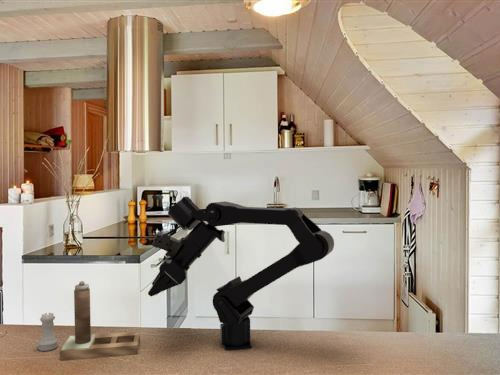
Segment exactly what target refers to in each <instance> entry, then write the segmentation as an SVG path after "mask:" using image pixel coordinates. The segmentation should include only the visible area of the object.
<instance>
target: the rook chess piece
mask: <svg viewBox="0 0 500 375" xmlns="http://www.w3.org/2000/svg"><path fill="white" fill-rule="evenodd" d="M55 318H56V316H55V315H54V313H53V312H48V313H47V312H45V313H43V314H41V317H40V319H39V320H40V322H41V325H40V327H41V336H40V338H39V340H38V342H37V349H38V350H39V351H40V352H48V351H49V352H50V351H53V350H55V349H57V348H58V346H59V343H58V338H57V337H56V335H55V331H54V325H55V323H54V320H55Z"/></svg>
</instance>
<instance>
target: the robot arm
mask: <svg viewBox="0 0 500 375" xmlns="http://www.w3.org/2000/svg"><path fill="white" fill-rule="evenodd" d="M167 215H168V216H169V218H170V219H172V221H174V223H175V224H177V226H178V227H179V228H180V229H182V231H187V230H188V231H189V233H188V234H187V235H186V236H183V237H182V238H181V239H177V238H175V237H172V236H171V234H167V233H165V232H160V231H157V233H156V235H155V236H154V239H153V242H152V244H151V246H152V247H153V248H156V249H161V250H164V251H165V254H164V256H163V257H162V258H163V260H162V262H161V263H160V265H159V268H158V270H159V272H158V273H157V274H156V276H155V278H154V280H153V281H152V283H151V287H150V289H149V291H148V292H147V295H148V296H150V297H153V296H155V295H158V294H160V293H162V292H164V291H167V290H168V289H169V290H170V289H171V288H174V287H176V286H179V285H181V284H182V283H183V282H184V281H186V279H187V272H188V270H190V268H191V266H192V265H193V263H195V261H197V259H199V258H201V256H202V254H203V253H204V252H205V251H206V249H207V248H208V247H210V245H212V244H213V242H214V241H215V240H216V239H217V240H219V241H220V242H222V243H225V240H226V238H225V234H226V232H225V230H223V229H218V227H222V226H228V225H234V224H235V225H236V224H255V225H256V224H259V225H261V224H262V225H278V226H279V225H280V226H281V225H282V226H286V227H287V228H288V229H289V230H290V232H291V234H292V236H293V237H294V239H296V241H297V242H298V244H297V245H296V246H295V247H294V248H293V249H292V250H291V251H290V252H289V253H288V254H286V255H284V256H282V257H281V258H280V259H278V260H277V261H274V262H273V263H272V264H270V265H268V266H267V267H265V268H264V269H262V270H260V271H259V272H257V273H255V274H253V275H252V276H250V277H249V278H247V279H244V280H242V278H241V276H237V277H235V278H233V279H232V280H230V281H227V283H225V284H224V285H221V286H220V287H218V288H216V291H217V292H216V293H215V294H214V295H213V296H212V306H213V308H214V310H215V312H216V314H217V316H218V320H219V323H220V324H219V325H220V326H219V328H220V329H219V330H220V332H219V333H220V336H219V337H220V344H221V345H223V347H224V350H237V349H250V348H253V344H252V342H251V318H250V316H251V315H252V314H253V311H254V308H255V306H254V305H253V304H252V303H251V302H250V300H249V299H251V297H252V296H253V295H254V294H255V293H257V292H258V291H260V290H262V289H263V288H265V287H267V286H269V285H270V284H271V283H274V282H276V281H277V280H278V279H280V278H282V277H284V276H285V275H287V274H289V273H290V272H293V271H294V270H295V269H297V268H300V267H302V266H306V265H310V264H312V263H315V262H318V261H320V260H323V259H324V258H326V256H328V255H329V254H331V253H332V252H333V250H334V249H335V248H334V247H335V241H334V240H335V239H334V237H333V235H331V234H330V233H329V232H328V231H326V230H322V229H321V227H319V226H318V224H316V223H315V222H314V221H313V220H312V219H310V218H309V217H308V216H307V215H306V214H305V213H304V212H303V211H302V210H301V209H300V208H299V207H290V208H289V207H288V208H287V207H263V206H261V207H258V206H257V207H255V206H245V205H241V204H237V203H234V202H229V201H215V202H210V203H208V205H206V207H205V208H199V207H198V206H197V204H196V203H195V202H193V201H192V199H191V198H190V197H189V196H182V198H181V199H180V200H179V201H177V202H175V204H173V205H171V207H170V208H169V209H168V212H167Z"/></svg>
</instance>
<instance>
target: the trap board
mask: <svg viewBox="0 0 500 375" xmlns="http://www.w3.org/2000/svg"><path fill="white" fill-rule="evenodd" d="M140 337H141V332H140V331H129V332H128V331H125V332H115V333H112V332H111V333H99V334H96V333H92V334H91V341H90V342H88V343H85V344H76V343H75V335H69V336H68V337H67V338H66V341H65V342H64V343H63V345H62V347H61V349H60V350H59V361H67V360H69V361H70V360H80V359H91V358H104V357H105V358H106V357H115V356H126V355H127V356H128V355H129V356H130V355H138V353H139V352H138V351H139V346H140V341H141V340H140V339H141V338H140Z"/></svg>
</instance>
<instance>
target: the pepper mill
mask: <svg viewBox="0 0 500 375" xmlns="http://www.w3.org/2000/svg"><path fill="white" fill-rule="evenodd" d="M73 297H74V298H73V301H74V302H73V303H74V305H73V306H74V308H73V310H74V312H73V313H74V336H75V343H76V344H85V343H88V342H90V341H91V330H92V329H91V289H90V284H89V283H85V281H83V280H81V281H79V283H78V284H76V285H75V286H74V290H73Z"/></svg>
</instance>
